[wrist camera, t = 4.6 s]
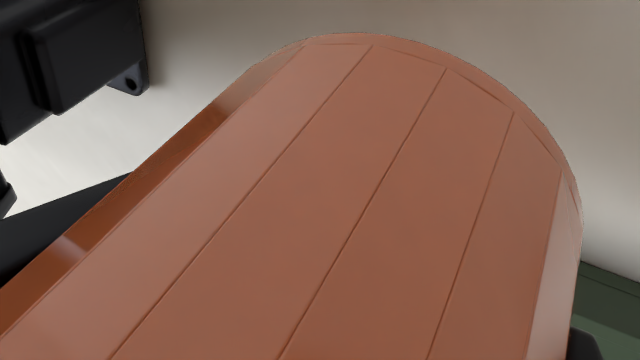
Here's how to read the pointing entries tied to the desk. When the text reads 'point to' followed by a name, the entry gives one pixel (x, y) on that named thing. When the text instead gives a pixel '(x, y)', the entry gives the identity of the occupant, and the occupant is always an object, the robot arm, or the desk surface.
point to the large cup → (323, 225)
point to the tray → (609, 312)
